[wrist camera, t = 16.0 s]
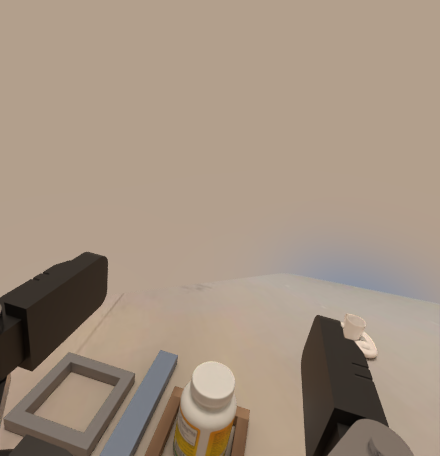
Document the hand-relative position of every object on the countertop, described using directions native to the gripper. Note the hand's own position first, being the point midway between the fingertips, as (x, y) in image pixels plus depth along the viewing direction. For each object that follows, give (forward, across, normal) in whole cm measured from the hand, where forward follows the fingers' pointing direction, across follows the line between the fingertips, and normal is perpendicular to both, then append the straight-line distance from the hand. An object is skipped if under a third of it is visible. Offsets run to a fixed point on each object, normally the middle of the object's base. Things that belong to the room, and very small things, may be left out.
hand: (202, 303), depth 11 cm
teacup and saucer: (+33, -19, +26) cm, 46 cm away
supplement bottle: (+10, 0, +25) cm, 27 cm away
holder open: (+11, +14, +25) cm, 31 cm away
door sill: (+11, +7, +25) cm, 28 cm away
